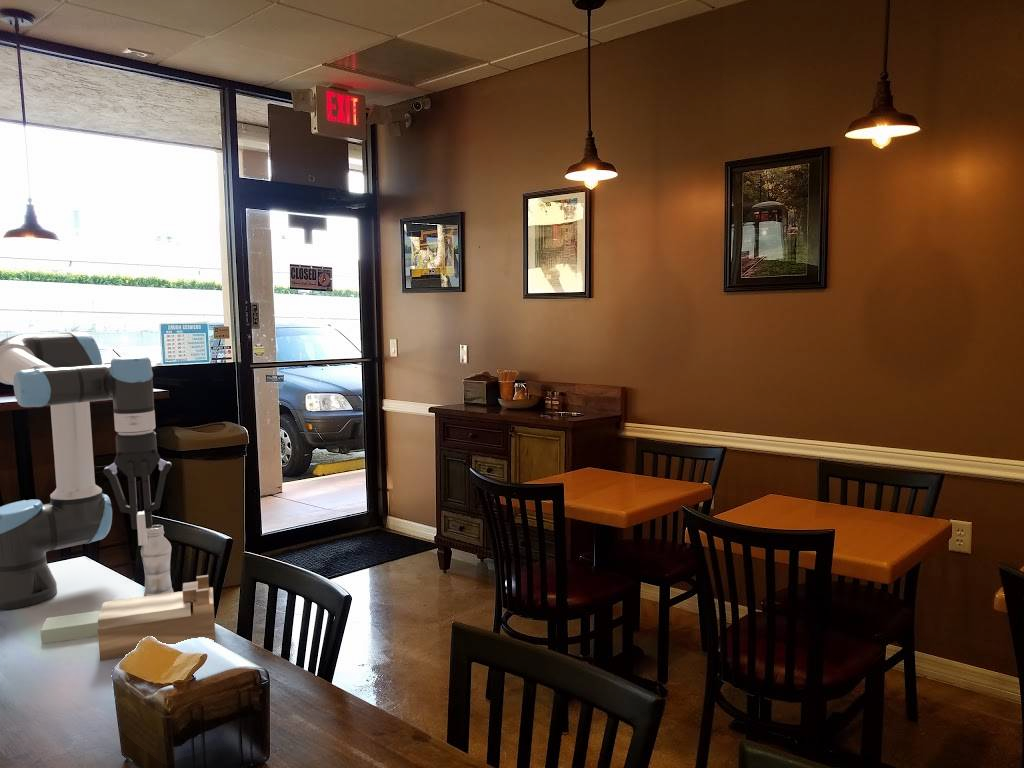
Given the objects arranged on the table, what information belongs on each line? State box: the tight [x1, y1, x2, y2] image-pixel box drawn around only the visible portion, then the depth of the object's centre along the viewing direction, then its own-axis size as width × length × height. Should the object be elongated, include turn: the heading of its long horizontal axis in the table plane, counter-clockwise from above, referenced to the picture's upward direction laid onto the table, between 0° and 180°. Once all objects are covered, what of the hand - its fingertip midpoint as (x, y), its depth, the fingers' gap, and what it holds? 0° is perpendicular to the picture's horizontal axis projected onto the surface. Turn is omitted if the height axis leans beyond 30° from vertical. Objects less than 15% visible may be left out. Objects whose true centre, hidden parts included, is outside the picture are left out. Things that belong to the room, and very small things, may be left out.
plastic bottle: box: [140, 524, 174, 597], centre depth 183 cm, size 6×7×20 cm
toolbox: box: [97, 574, 216, 661], centre depth 165 cm, size 10×22×12 cm, turn 112°
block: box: [182, 580, 198, 602], centre depth 167 cm, size 5×3×2 cm, turn 22°
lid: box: [98, 590, 191, 629], centre depth 164 cm, size 10×17×2 cm, turn 112°
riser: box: [40, 610, 101, 645], centre depth 172 cm, size 7×13×3 cm, turn 112°
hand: (143, 543), depth 163 cm, fingers closed
